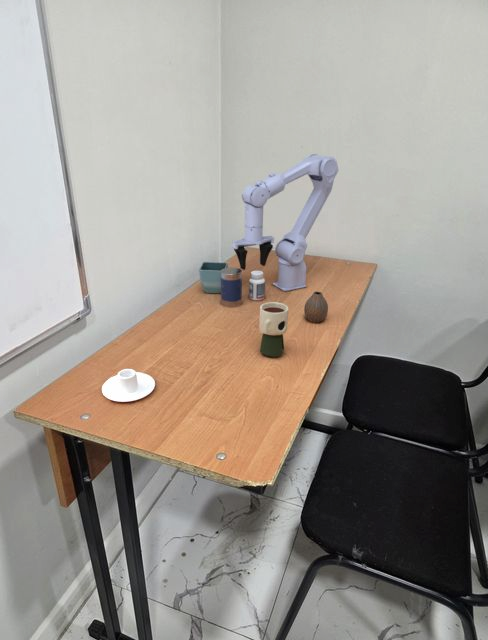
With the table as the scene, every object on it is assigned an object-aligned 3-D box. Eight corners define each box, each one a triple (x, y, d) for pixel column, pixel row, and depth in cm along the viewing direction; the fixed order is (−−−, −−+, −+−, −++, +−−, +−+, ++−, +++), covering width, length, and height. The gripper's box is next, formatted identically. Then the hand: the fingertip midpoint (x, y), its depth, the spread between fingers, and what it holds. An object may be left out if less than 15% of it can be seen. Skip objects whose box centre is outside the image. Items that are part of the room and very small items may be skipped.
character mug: (277, 365, 111) (279, 318, 105) (251, 359, 114) (252, 313, 108) (291, 346, 120) (295, 302, 113) (267, 341, 122) (269, 297, 116)
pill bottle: (266, 295, 151) (267, 270, 146) (262, 301, 146) (263, 275, 142) (251, 294, 152) (251, 269, 148) (246, 299, 148) (247, 274, 143)
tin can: (235, 297, 149) (235, 266, 144) (245, 304, 144) (245, 272, 139) (217, 301, 147) (217, 269, 141) (226, 308, 141) (226, 275, 136)
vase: (329, 317, 136) (332, 290, 131) (323, 326, 130) (326, 299, 126) (307, 313, 138) (309, 287, 134) (300, 322, 133) (302, 295, 128)
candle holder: (107, 375, 107) (104, 360, 105) (157, 373, 108) (155, 358, 106) (97, 405, 97) (94, 389, 95) (153, 403, 98) (151, 386, 96)
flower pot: (228, 286, 158) (228, 262, 154) (225, 296, 150) (225, 270, 146) (203, 285, 159) (202, 261, 154) (199, 295, 151) (198, 270, 147)
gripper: (239, 231, 135) (239, 274, 142) (279, 225, 141) (277, 266, 148) (229, 226, 141) (229, 267, 147) (268, 221, 147) (266, 260, 153)
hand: (252, 266), depth 148 cm, fingers open, 7 cm apart
